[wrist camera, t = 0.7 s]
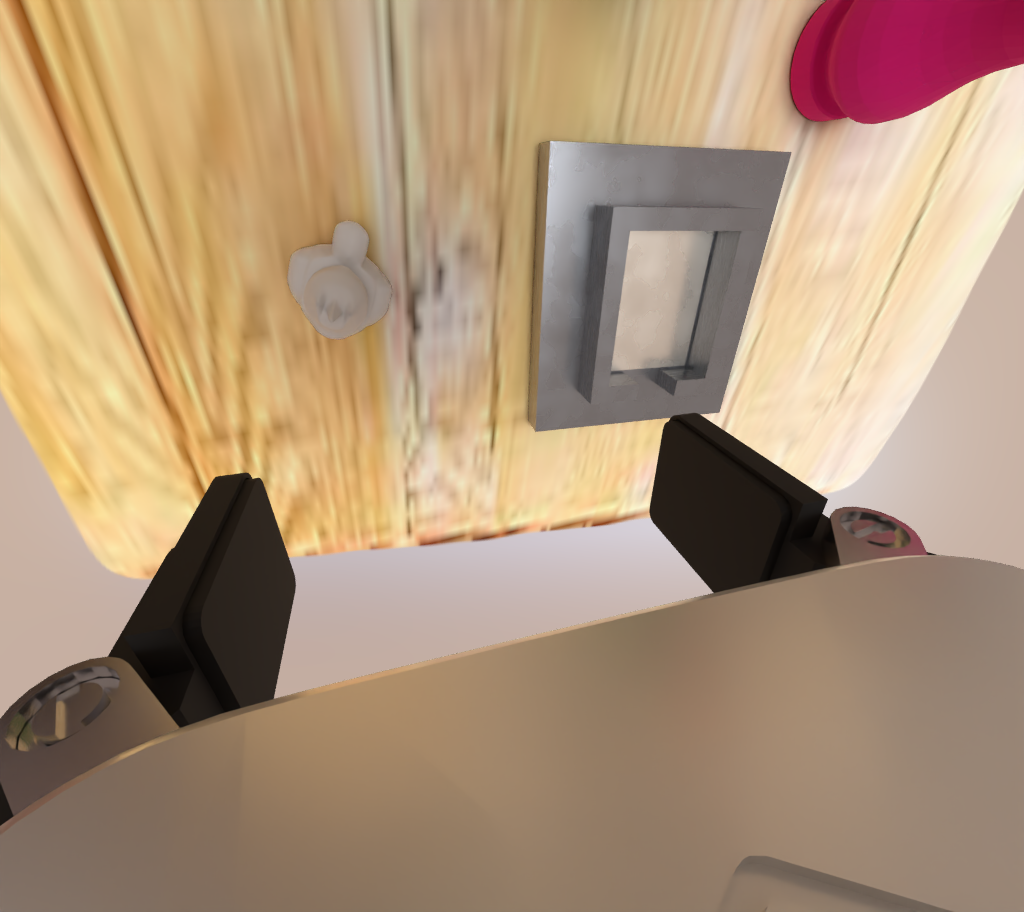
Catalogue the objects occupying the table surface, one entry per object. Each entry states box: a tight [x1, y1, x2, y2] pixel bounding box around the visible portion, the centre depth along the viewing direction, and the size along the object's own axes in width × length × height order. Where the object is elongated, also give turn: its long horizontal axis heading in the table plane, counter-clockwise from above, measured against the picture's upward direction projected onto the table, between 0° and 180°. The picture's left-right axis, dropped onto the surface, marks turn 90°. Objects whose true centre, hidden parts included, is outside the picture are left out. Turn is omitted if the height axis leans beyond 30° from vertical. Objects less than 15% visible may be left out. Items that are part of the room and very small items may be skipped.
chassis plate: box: [528, 141, 791, 432], centre depth 31 cm, size 18×16×4 cm
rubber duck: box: [287, 221, 392, 340], centre depth 24 cm, size 5×7×8 cm
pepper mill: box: [791, 0, 1024, 124], centre depth 20 cm, size 7×7×20 cm
